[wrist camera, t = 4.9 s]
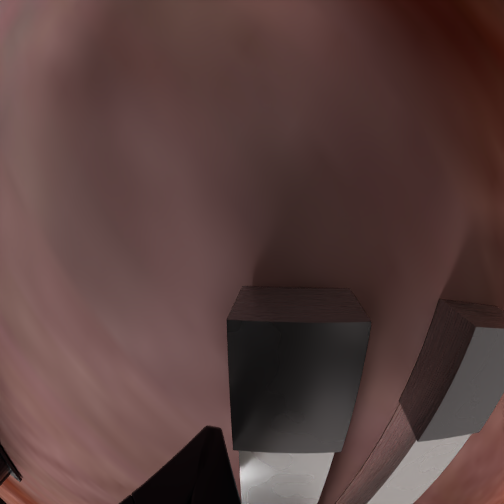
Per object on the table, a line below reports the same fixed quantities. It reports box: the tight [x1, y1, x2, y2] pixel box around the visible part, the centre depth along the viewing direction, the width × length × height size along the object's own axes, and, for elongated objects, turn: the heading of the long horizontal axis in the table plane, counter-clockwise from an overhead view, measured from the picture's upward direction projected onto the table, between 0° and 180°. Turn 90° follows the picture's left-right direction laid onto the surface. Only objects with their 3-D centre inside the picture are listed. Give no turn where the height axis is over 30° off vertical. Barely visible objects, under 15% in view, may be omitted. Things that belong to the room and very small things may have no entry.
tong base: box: [336, 299, 504, 504], centre depth 7 cm, size 14×3×2 cm, turn 171°
